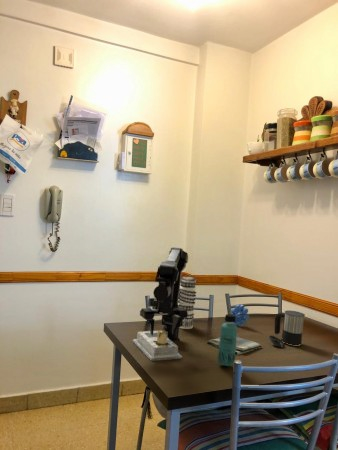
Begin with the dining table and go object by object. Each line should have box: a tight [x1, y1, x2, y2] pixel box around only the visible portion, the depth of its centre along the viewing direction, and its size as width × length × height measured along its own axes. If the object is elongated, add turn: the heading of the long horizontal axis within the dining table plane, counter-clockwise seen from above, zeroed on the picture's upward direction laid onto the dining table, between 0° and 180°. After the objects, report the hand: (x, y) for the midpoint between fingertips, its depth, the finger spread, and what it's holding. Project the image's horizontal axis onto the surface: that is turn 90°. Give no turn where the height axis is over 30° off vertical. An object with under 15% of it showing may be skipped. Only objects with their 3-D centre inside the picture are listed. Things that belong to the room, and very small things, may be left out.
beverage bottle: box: [217, 313, 239, 367], centre depth 146 cm, size 6×7×20 cm
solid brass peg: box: [157, 329, 168, 346], centre depth 154 cm, size 4×4×8 cm
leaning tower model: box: [178, 276, 197, 330], centre depth 194 cm, size 9×9×25 cm
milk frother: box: [268, 310, 306, 348], centre depth 179 cm, size 14×16×15 cm
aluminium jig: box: [132, 330, 183, 362], centre depth 158 cm, size 13×22×4 cm, turn 24°
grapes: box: [230, 304, 250, 327], centre depth 204 cm, size 12×7×12 cm, turn 42°
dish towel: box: [206, 336, 262, 356], centre depth 172 cm, size 19×18×3 cm
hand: (162, 334), depth 153 cm, fingers open, 9 cm apart
